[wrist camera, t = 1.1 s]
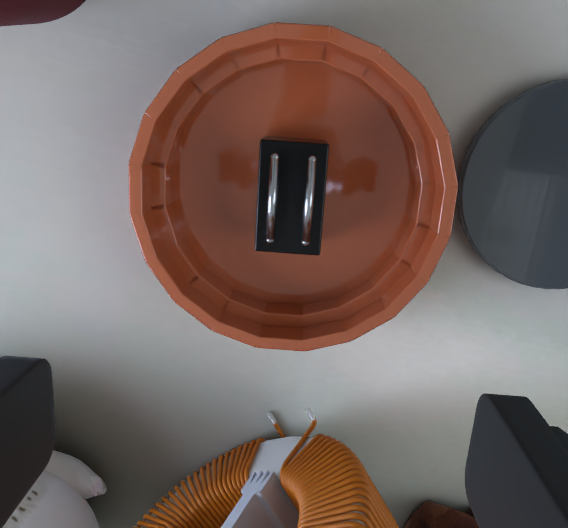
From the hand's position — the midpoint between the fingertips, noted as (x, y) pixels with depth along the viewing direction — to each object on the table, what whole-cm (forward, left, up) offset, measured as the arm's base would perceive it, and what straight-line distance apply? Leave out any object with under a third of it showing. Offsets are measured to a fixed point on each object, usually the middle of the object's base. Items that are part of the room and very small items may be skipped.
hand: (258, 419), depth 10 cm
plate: (-3, +13, -18) cm, 22 cm away
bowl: (-2, 0, -18) cm, 18 cm away
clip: (-2, 0, -17) cm, 17 cm away
